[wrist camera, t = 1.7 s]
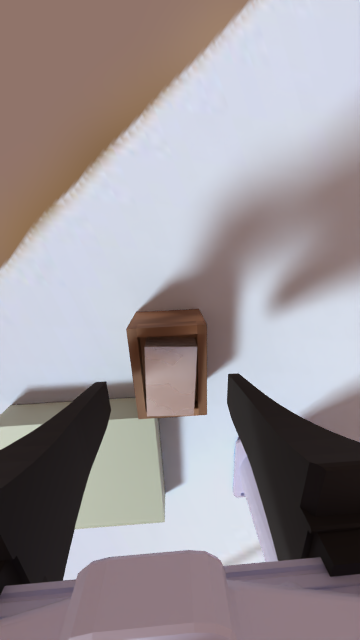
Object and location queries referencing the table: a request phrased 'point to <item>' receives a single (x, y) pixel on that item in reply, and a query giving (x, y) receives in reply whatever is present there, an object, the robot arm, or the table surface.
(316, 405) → the table surface
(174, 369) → the lid plate
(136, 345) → the brown box
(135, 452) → the stand
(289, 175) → the table surface
